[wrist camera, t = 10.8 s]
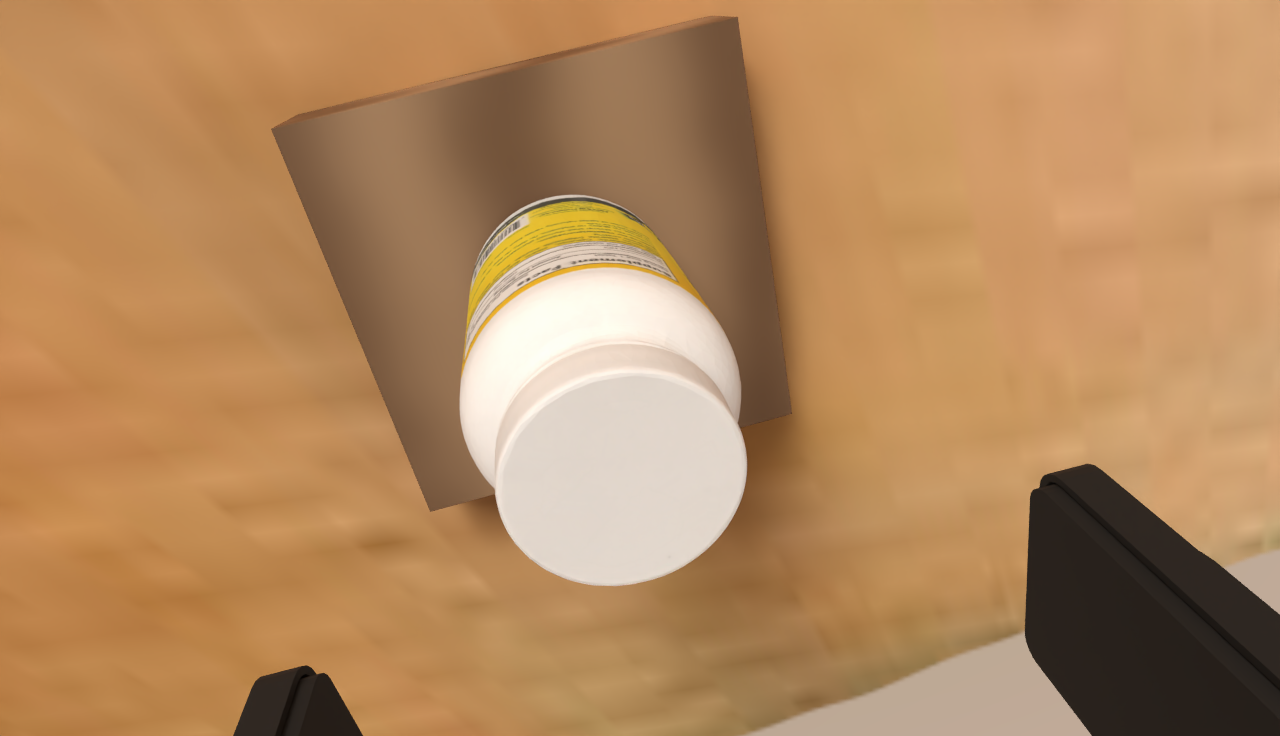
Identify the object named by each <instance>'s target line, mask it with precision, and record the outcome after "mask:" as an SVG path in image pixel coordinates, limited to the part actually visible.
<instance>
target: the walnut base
mask: <svg viewBox="0 0 1280 736" xmlns="http://www.w3.org/2000/svg"><path fill="white" fill-rule="evenodd" d="M271 130H272V132H273V135H274V137H275V139H276V142H277V144H278V147H279V149H280V151H281V154H282V156H283V159H284V161H285V163H286V166H287V168H288V171H289V173H290V175H291V178H292V180H293V183H294V185H295V187H296V190H297V192H298V195H299V197H300V199H301V202H302V204H303V207H304V209H305V211H306V214H307V216H308V219H309V221H310V223H311V226H312V228H313V231H314V233H315V236H316V238H317V240H318V243H319V245H320V248H321V250H322V252H323V255H324V257H325V260H326V262H327V264H328V267H329V269H330V272H331V274H332V276H333V279H334V281H335V284H336V286H337V288H338V291H339V293H340V296H341V298H342V300H343V303H344V305H345V308H346V310H347V312H348V315H349V317H350V320H351V322H352V325H353V327H354V329H355V332H356V334H357V337H358V339H359V341H360V344H361V346H362V349H363V351H364V353H365V356H366V358H367V361H368V363H369V365H370V368H371V370H372V373H373V375H374V377H375V380H376V382H377V385H378V387H379V389H380V392H381V394H382V397H383V399H384V401H385V404H386V406H387V409H388V411H389V413H390V416H391V418H392V421H393V423H394V426H395V428H396V430H397V433H398V435H399V438H400V440H401V442H402V445H403V447H404V450H405V452H406V454H407V457H408V459H409V462H410V464H411V466H412V469H413V471H414V474H415V476H416V478H417V481H418V483H419V486H420V488H421V490H422V493H423V495H424V498H425V500H426V502H427V505H428V507H429V510H430V512H431V511H435V510H438V509H442V508H446V507H450V506H453V505H457V504H461V503H464V502H468V501H472V500H475V499H479V498H483V497H486V496H490V495H494V494H495V489H494V488H493V487H492V486H491V485H490V484H489V482H488V481H487V480H486V479H485V478H484V476H483V475H482V473H481V472H480V470H479V469H478V467H477V466H476V464H475V462H474V460H473V458H472V456H471V454H470V452H469V450H468V447H467V444H466V442H465V439H464V435H463V431H462V426H461V420H460V385H461V372H462V363H463V354H464V346H465V335H466V327H467V315H468V304H469V294H470V286H471V280H472V275H473V271H474V268H475V264H476V262H477V259H478V256H479V254H480V252H481V250H482V248H483V246H484V245H485V243H486V241H487V240H488V238H489V237H490V236H491V234H492V233H493V232H494V231H495V230H496V228H497V227H498V226H499V225H500V224H501V223H502V222H503V221H505V220H506V219H507V218H508V217H509V216H510V215H512V214H513V213H515V212H516V211H518V210H519V209H521V208H523V207H525V206H527V205H529V204H531V203H534V202H536V201H539V200H542V199H545V198H549V197H554V196H561V195H586V196H592V197H596V198H601V199H604V200H607V201H610V202H612V203H615V204H617V205H619V206H621V207H623V208H625V209H627V210H629V211H630V212H632V213H633V214H635V215H636V216H637V217H639V218H640V219H641V220H642V221H643V222H644V223H645V224H646V225H647V226H648V227H649V228H650V229H651V230H652V231H653V232H654V234H655V235H656V236H657V237H658V239H659V240H660V241H661V242H662V244H663V245H664V246H665V248H666V249H667V251H668V252H669V253H670V255H671V256H672V257H673V259H674V260H675V261H676V263H677V264H678V266H679V267H680V268H681V270H682V271H683V273H684V274H685V275H686V277H687V278H688V280H689V281H690V282H691V283H692V285H693V287H694V288H695V289H696V291H697V292H698V293H699V295H700V296H701V298H702V300H703V301H704V302H705V304H706V305H707V306H708V308H709V309H710V311H711V312H712V313H713V315H714V316H715V318H716V319H717V320H718V322H719V324H720V325H721V327H722V329H723V330H724V332H725V334H726V336H727V338H728V340H729V343H730V345H731V347H732V350H733V352H734V355H735V358H736V361H737V364H738V368H739V375H740V381H741V406H740V414H739V419H738V425H739V427H740V428H741V427H745V426H749V425H752V424H756V423H760V422H763V421H767V420H771V419H774V418H778V417H782V416H786V415H789V414H792V411H791V403H790V396H789V389H788V381H787V374H786V367H785V359H784V352H783V345H782V338H781V330H780V323H779V316H778V308H777V301H776V294H775V286H774V279H773V272H772V264H771V257H770V250H769V243H768V235H767V228H766V221H765V213H764V206H763V199H762V191H761V184H760V177H759V170H758V162H757V155H756V148H755V140H754V133H753V126H752V118H751V111H750V104H749V97H748V89H747V82H746V75H745V67H744V60H743V53H742V45H741V38H740V31H739V23H738V17H724V16H708V17H704V18H700V19H696V20H692V21H688V22H683V23H679V24H675V25H671V26H667V27H662V28H658V29H654V30H650V31H646V32H642V33H637V34H633V35H629V36H625V37H621V38H617V39H612V40H608V41H604V42H600V43H596V44H591V45H587V46H583V47H579V48H575V49H571V50H566V51H562V52H558V53H554V54H550V55H545V56H541V57H537V58H533V59H529V60H525V61H520V62H516V63H512V64H508V65H504V66H499V67H495V68H491V69H487V70H483V71H479V72H474V73H470V74H466V75H462V76H458V77H453V78H449V79H445V80H441V81H437V82H433V83H428V84H424V85H420V86H416V87H412V88H408V89H403V90H399V91H395V92H391V93H387V94H382V95H378V96H374V97H370V98H366V99H362V100H357V101H353V102H349V103H345V104H341V105H336V106H332V107H328V108H324V109H320V110H316V111H311V112H307V113H303V114H299V115H296V116H294V117H293V118H291V119H289V120H287V121H285V122H283V123H281V124H280V125H278V126H276V127H274V128H272V129H271Z"/></svg>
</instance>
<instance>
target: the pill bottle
mask: <svg viewBox="0 0 1280 736" xmlns="http://www.w3.org/2000/svg"><path fill="white" fill-rule="evenodd" d="M740 406H741V381H740V375H739V368H738V364H737V361H736V358H735V355H734V352H733V350H732V347H731V345H730V343H729V340H728V338H727V336H726V334H725V332H724V330H723V329H722V327H721V325H720V324H719V322H718V320H717V319H716V318H715V316H714V315H713V313H712V312H711V311H710V309H709V308H708V306H707V305H706V304H705V302H704V301H703V300H702V298H701V296H700V295H699V293H698V292H697V291H696V289H695V288H694V287H693V285H692V283H691V282H690V281H689V280H688V278H687V277H686V275H685V274H684V273H683V271H682V270H681V268H680V267H679V266H678V264H677V263H676V261H675V260H674V259H673V257H672V256H671V255H670V253H669V252H668V251H667V249H666V248H665V246H664V245H663V244H662V242H661V241H660V240H659V239H658V237H657V236H656V235H655V234H654V232H653V231H652V230H651V229H650V228H649V227H648V226H647V225H646V224H645V223H644V222H643V221H642V220H641V219H640V218H639V217H637V216H636V215H635V214H633V213H632V212H630V211H629V210H627V209H625V208H623V207H621V206H619V205H617V204H615V203H612V202H610V201H607V200H604V199H601V198H596V197H592V196H586V195H561V196H554V197H549V198H545V199H542V200H539V201H536V202H534V203H531V204H529V205H527V206H525V207H523V208H521V209H519V210H518V211H516V212H515V213H513V214H512V215H510V216H509V217H508V218H507V219H506V220H505V221H503V222H502V223H501V224H500V225H499V226H498V227H497V228H496V230H495V231H494V232H493V233H492V234H491V236H490V237H489V238H488V240H487V241H486V243H485V245H484V246H483V248H482V250H481V252H480V254H479V256H478V259H477V262H476V264H475V268H474V271H473V275H472V280H471V286H470V294H469V304H468V315H467V327H466V335H465V346H464V354H463V363H462V372H461V385H460V420H461V426H462V431H463V435H464V439H465V442H466V444H467V447H468V450H469V452H470V454H471V456H472V458H473V460H474V462H475V464H476V466H477V467H478V469H479V470H480V472H481V473H482V475H483V476H484V478H485V479H486V480H487V481H488V482H489V484H490V485H491V486H492V487H493V488H494V489H495V496H496V502H497V506H498V510H499V513H500V516H501V519H502V521H503V524H504V526H505V528H506V530H507V532H508V534H509V535H510V537H511V538H512V539H513V541H514V542H515V544H516V545H517V546H518V547H519V548H520V549H521V550H522V551H523V552H524V553H525V554H526V555H527V556H528V557H529V558H530V559H531V560H532V561H534V562H535V563H536V564H538V565H539V566H541V567H542V568H544V569H545V570H547V571H549V572H551V573H553V574H555V575H557V576H560V577H563V578H565V579H568V580H571V581H575V582H579V583H583V584H589V585H599V586H621V585H630V584H636V583H640V582H645V581H649V580H652V579H656V578H659V577H662V576H664V575H667V574H669V573H672V572H674V571H676V570H678V569H680V568H681V567H683V566H685V565H686V564H688V563H690V562H691V561H693V560H694V559H696V558H697V557H698V556H699V555H701V554H702V553H703V552H705V551H706V550H707V549H708V548H709V547H710V546H711V545H712V544H713V543H714V542H715V541H716V540H717V539H718V538H719V536H720V535H721V534H722V533H723V531H724V530H725V529H726V528H727V526H728V525H729V523H730V521H731V520H732V518H733V516H734V514H735V512H736V510H737V508H738V506H739V504H740V502H741V499H742V496H743V493H744V488H745V483H746V476H747V455H746V447H745V443H744V439H743V436H742V432H741V430H740V427H739V425H738V419H739V414H740Z"/></svg>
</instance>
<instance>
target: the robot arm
mask: <svg viewBox="0 0 1280 736" xmlns="http://www.w3.org/2000/svg"><path fill="white" fill-rule="evenodd" d="M1025 638H1026V642H1027V645H1028V648H1029V650H1030V652H1031V654H1032V656H1033V658H1034V660H1035V661H1036V663H1037V664H1038V665H1039V667H1040V668H1041V669H1042V671H1043V672H1044V673H1045V675H1046V676H1047V677H1048V679H1049V680H1050V681H1051V682H1052V684H1053V685H1054V686H1055V688H1056V689H1057V690H1058V692H1059V693H1060V694H1061V695H1062V697H1063V698H1064V699H1065V701H1066V702H1067V703H1068V705H1069V706H1070V707H1071V708H1072V710H1073V711H1074V713H1075V714H1076V715H1077V717H1078V718H1079V719H1080V720H1081V722H1082V723H1083V724H1084V726H1085V727H1086V728H1087V730H1088V731H1089V732H1090V734H1091V735H1092V736H1280V615H1279V614H1278V613H1277V612H1276V611H1274V610H1273V609H1272V608H1271V607H1270V606H1268V605H1267V604H1266V603H1265V602H1264V601H1262V600H1261V599H1260V598H1259V597H1258V596H1256V595H1255V594H1254V593H1253V592H1252V591H1250V590H1249V589H1248V588H1247V587H1245V586H1244V585H1243V584H1242V583H1241V582H1239V581H1238V580H1237V579H1236V578H1235V577H1233V576H1232V575H1231V574H1230V573H1228V572H1227V571H1226V570H1225V569H1224V568H1222V567H1221V566H1220V565H1219V564H1218V563H1216V562H1215V561H1214V560H1212V559H1211V558H1209V557H1208V556H1206V555H1205V554H1203V553H1202V552H1200V551H1198V550H1197V549H1196V548H1195V547H1194V546H1192V545H1191V544H1190V543H1189V542H1188V541H1186V540H1185V539H1184V538H1183V537H1182V536H1180V535H1179V534H1178V533H1177V532H1175V531H1174V530H1173V529H1172V528H1171V527H1169V526H1168V525H1167V524H1166V523H1165V522H1163V521H1162V520H1161V519H1160V518H1159V517H1157V516H1156V515H1155V514H1154V513H1153V512H1151V511H1150V510H1149V509H1148V508H1147V507H1145V506H1144V505H1143V504H1142V503H1141V502H1139V501H1138V500H1137V499H1136V498H1135V497H1133V496H1132V495H1131V494H1130V493H1129V492H1127V491H1126V490H1125V489H1124V488H1123V487H1121V486H1120V485H1119V484H1118V483H1117V482H1115V481H1114V480H1113V479H1112V478H1111V477H1109V476H1108V475H1107V474H1106V473H1104V472H1103V471H1102V470H1101V469H1099V468H1098V467H1096V466H1095V465H1091V464H1085V465H1081V466H1077V467H1073V468H1069V469H1065V470H1062V471H1058V472H1054V473H1050V474H1047V475H1044V476H1043V478H1042V479H1041V482H1040V487H1039V488H1038V489H1034V490H1033V491H1032V493H1031V496H1030V514H1029V540H1028V566H1027V591H1026V617H1025ZM233 736H363V735H362V733H361V731H360V730H359V728H358V726H357V724H356V723H355V721H354V719H353V717H352V716H351V714H350V712H349V710H348V709H347V707H346V705H345V703H344V702H343V700H342V698H341V696H340V695H339V693H338V691H337V689H336V688H335V686H334V684H333V682H332V681H331V679H330V678H329V676H328V675H327V674H325V673H321V674H316V673H315V672H314V670H313V669H312V668H311V667H309V666H301V667H297V668H293V669H289V670H285V671H281V672H277V673H274V674H270V675H266V676H262V677H260V678H259V679H258V680H256V681H255V683H254V685H253V687H252V689H251V691H250V694H249V697H248V699H247V702H246V704H245V707H244V709H243V712H242V715H241V717H240V720H239V722H238V725H237V727H236V730H235V733H234V735H233Z"/></svg>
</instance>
